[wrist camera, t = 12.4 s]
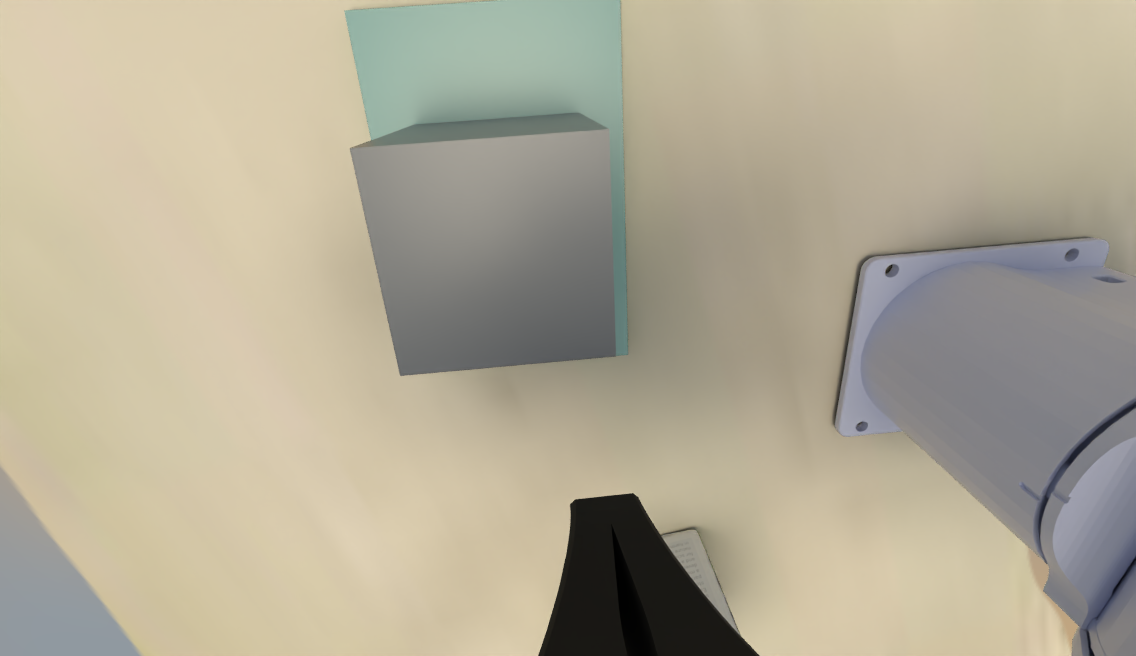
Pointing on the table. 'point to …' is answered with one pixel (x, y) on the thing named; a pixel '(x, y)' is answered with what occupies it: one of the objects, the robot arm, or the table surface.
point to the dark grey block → (492, 240)
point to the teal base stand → (499, 76)
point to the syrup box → (699, 568)
